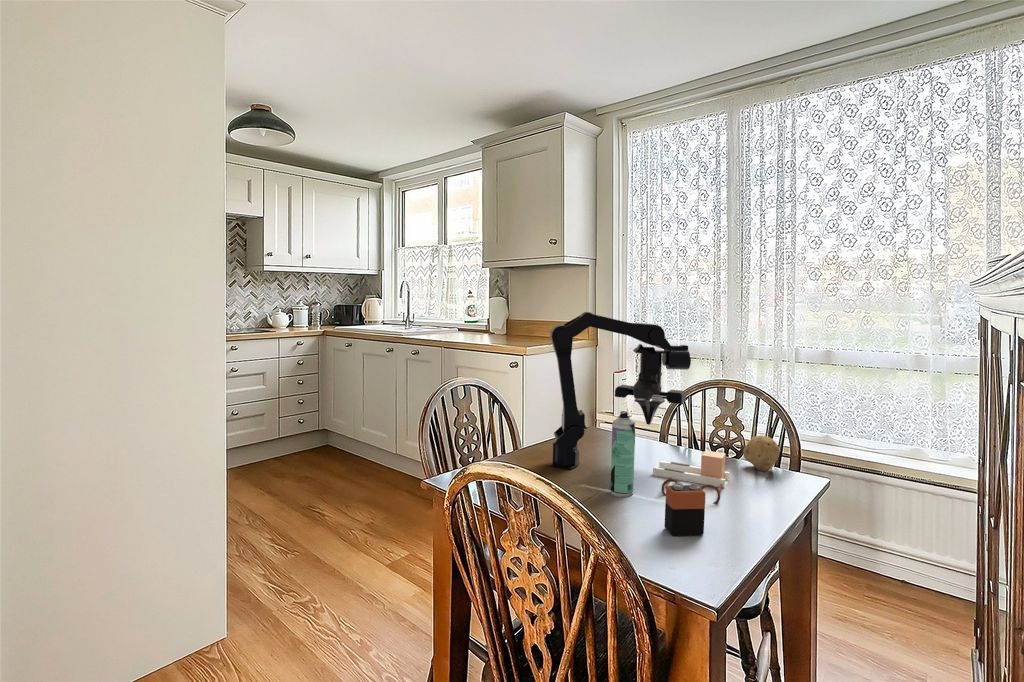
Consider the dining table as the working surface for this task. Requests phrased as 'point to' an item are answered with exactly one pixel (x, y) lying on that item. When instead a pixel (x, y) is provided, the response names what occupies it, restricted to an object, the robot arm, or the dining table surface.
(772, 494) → the dining table surface
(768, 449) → the natural sponge
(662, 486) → the glasses
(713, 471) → the block
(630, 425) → the spray can
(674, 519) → the battery
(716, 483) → the chute
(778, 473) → the dining table surface
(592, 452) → the dining table surface
